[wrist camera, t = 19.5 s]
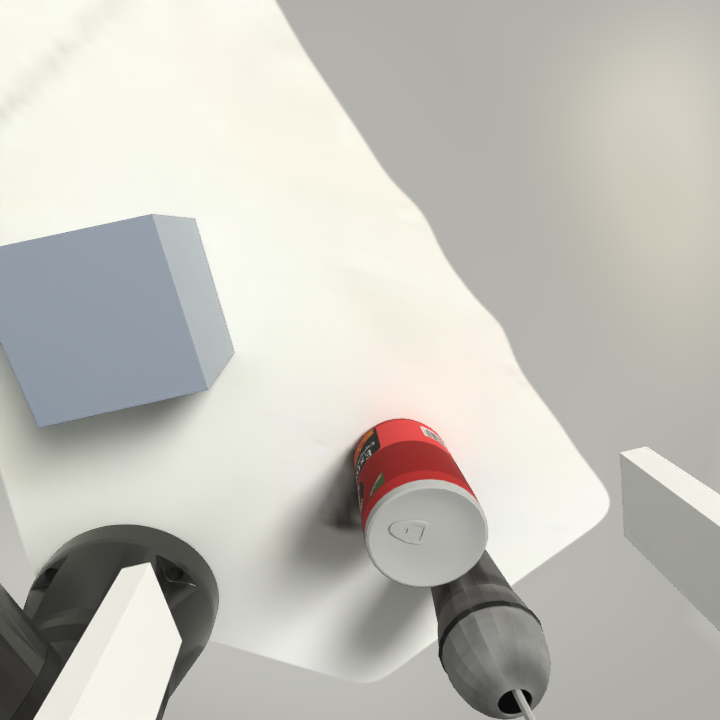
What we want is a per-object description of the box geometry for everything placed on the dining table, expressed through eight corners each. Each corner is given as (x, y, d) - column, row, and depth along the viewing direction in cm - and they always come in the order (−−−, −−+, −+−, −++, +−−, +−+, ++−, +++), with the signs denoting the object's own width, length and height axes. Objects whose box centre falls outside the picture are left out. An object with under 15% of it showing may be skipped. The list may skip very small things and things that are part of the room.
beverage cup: (400, 567, 43) (467, 843, 23) (415, 498, 41) (500, 736, 22) (475, 573, 44) (599, 842, 24) (493, 505, 42) (641, 739, 22)
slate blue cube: (234, 352, 36) (208, 389, 27) (105, 381, 36) (38, 427, 27) (194, 218, 33) (152, 213, 25) (53, 248, 33) (-39, 254, 24)
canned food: (352, 417, 38) (364, 488, 28) (446, 413, 39) (494, 481, 28) (353, 498, 40) (365, 593, 30) (443, 493, 41) (486, 584, 30)
